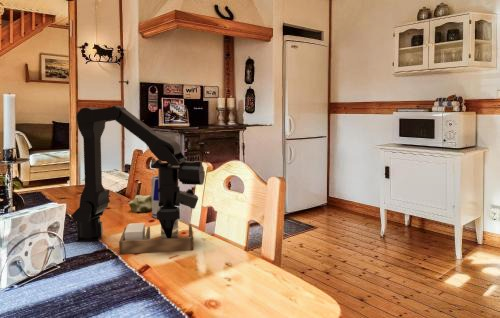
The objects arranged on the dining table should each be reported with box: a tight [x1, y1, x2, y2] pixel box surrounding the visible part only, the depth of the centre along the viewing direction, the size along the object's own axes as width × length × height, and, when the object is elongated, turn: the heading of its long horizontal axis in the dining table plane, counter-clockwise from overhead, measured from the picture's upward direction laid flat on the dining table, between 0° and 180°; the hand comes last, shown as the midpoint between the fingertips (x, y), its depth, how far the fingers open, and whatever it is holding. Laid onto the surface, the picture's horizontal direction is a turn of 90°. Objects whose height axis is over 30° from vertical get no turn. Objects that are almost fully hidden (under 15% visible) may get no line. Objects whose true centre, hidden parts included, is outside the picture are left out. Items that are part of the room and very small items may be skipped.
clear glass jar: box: [160, 219, 179, 239], centre depth 120 cm, size 5×5×6 cm
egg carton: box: [125, 222, 146, 241], centre depth 118 cm, size 5×9×6 cm, turn 10°
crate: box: [118, 223, 194, 255], centre depth 119 cm, size 20×14×4 cm
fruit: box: [127, 194, 152, 214], centre depth 158 cm, size 9×9×8 cm
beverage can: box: [150, 175, 162, 219], centre depth 149 cm, size 5×5×15 cm
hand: (169, 235), depth 120 cm, fingers closed on clear glass jar, 5 cm apart
